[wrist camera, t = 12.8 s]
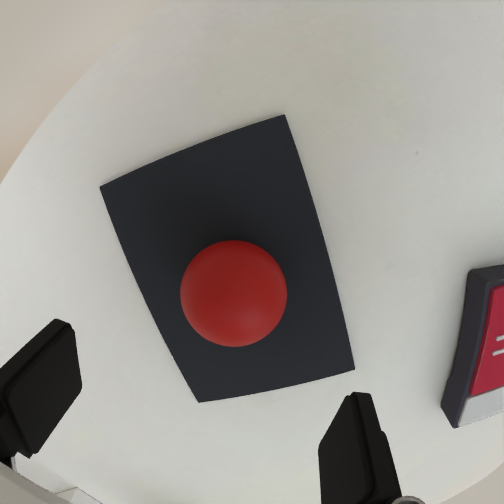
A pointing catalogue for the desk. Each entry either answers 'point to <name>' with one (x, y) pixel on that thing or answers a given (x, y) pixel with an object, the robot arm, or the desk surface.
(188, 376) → the side mat
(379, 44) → the desk surface
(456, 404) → the calculator
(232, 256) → the red ball
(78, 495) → the tissue box
